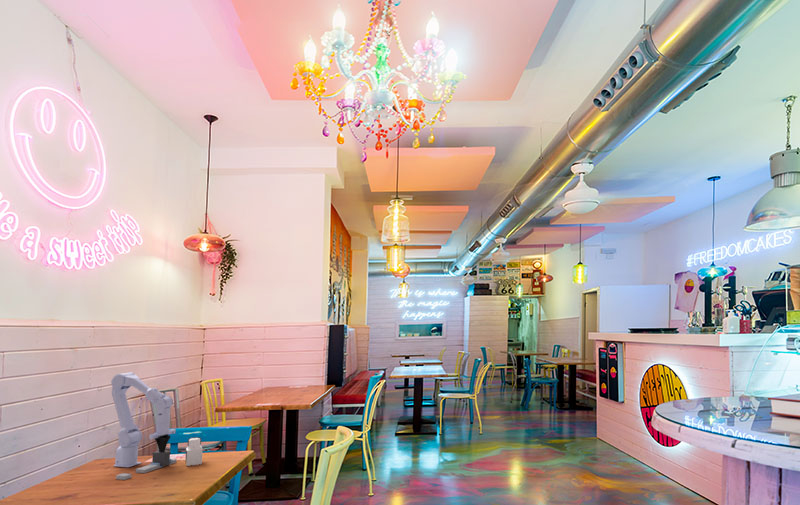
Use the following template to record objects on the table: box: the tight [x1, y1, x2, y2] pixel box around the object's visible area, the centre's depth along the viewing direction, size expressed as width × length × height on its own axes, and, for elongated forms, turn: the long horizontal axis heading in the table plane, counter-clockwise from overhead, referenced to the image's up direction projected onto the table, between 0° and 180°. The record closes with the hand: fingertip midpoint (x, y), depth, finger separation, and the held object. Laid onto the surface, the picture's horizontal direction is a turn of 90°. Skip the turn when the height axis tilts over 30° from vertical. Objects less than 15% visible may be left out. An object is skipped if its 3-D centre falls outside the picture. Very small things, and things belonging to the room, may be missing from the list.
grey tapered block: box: [151, 450, 171, 467], centre depth 239 cm, size 7×4×6 cm, turn 71°
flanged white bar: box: [115, 458, 177, 481], centre depth 231 cm, size 5×30×2 cm, turn 161°
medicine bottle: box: [185, 436, 204, 467], centre depth 241 cm, size 7×7×12 cm
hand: (161, 451), depth 239 cm, fingers closed
